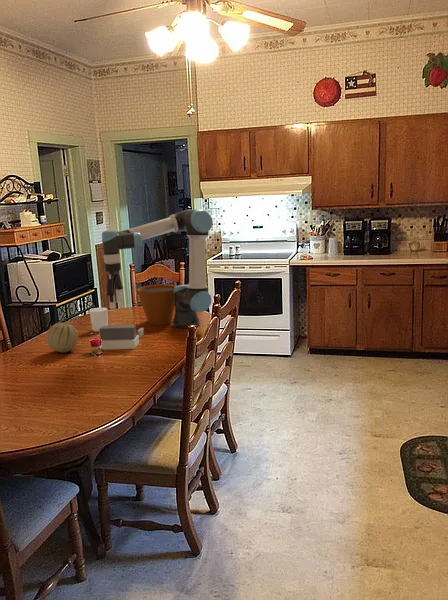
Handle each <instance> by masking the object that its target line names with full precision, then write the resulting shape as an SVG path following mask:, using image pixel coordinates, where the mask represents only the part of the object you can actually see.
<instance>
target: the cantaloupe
mask: <svg viewBox="0 0 448 600" xmlns="http://www.w3.org/2000/svg"><path fill="white" fill-rule="evenodd" d="M78 340H79V336H78V331H77V329H76V328H75V327H74V326H73V325H72V324H70V323H68V322H67V320H65V322H56V323H54V324H53V325H52V326H51V327H50V328H49V329H48V330H47V333H46V343H47V345H48V347H49V348H50V350H52V351H54V352H57V353H58V352H59V353H68V352H70V351H71V350H73V349H75V347H76V346H77V344H78Z"/></svg>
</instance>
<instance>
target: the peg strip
mask: <svg viewBox="0 0 448 600" xmlns="http://www.w3.org/2000/svg"><path fill="white" fill-rule="evenodd" d="M137 335H138V333H137V326H136V324H131V325H129V324H128V325H127V324H126V325H125V324H123V325H120V324H119V325H108V326H102V327H101V328H100V331H99V337H101V339H102V340H131V339H135V338H136V337H137ZM101 339H100V340H101Z"/></svg>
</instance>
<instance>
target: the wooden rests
mask: <svg viewBox="0 0 448 600" xmlns="http://www.w3.org/2000/svg"><path fill="white" fill-rule="evenodd" d="M137 335H139V339H140V338H143V337H144V335H145V328H144V327H139V329H137Z"/></svg>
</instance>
